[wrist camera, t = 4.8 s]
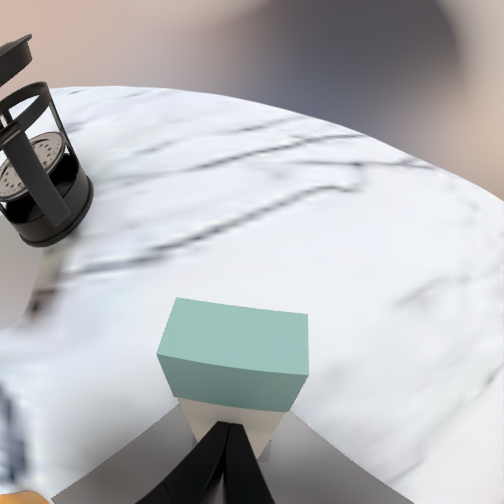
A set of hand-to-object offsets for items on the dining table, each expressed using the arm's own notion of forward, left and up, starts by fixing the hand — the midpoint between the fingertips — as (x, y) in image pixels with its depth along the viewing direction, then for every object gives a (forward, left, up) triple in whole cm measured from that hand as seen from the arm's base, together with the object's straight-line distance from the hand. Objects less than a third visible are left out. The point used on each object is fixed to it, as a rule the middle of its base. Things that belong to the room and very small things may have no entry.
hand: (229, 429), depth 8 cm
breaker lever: (-1, +1, -7) cm, 7 cm away
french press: (+24, +1, -8) cm, 26 cm away
